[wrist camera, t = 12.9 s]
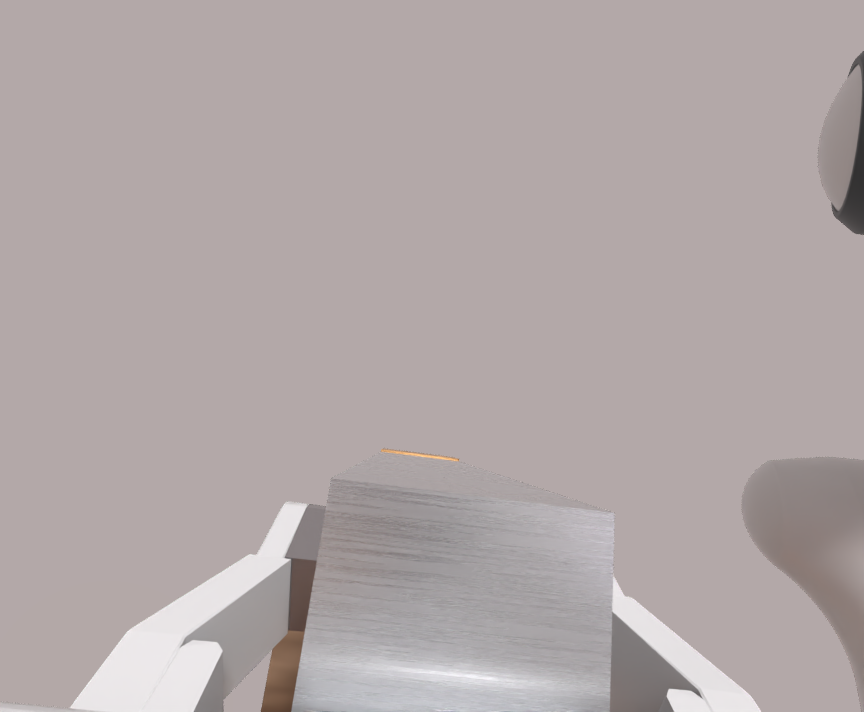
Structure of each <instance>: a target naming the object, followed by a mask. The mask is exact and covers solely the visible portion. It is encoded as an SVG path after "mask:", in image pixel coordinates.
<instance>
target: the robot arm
mask: <svg viewBox="0 0 864 712" xmlns="http://www.w3.org/2000/svg"><path fill="white" fill-rule="evenodd" d="M818 166H819V167H818V168H819V174H820V178H821V182H822V186H823V188H824V190H825V192H826V194H827V197H828V198H829V200H830V201H831V204H832V211H833V214H834V216H835V217H836V218H837V219H838V220H839V221H840V222H841V223H843V224H844V225H845V226H846V227H847V228H849V229H850V230H851V231H852V232H854V233H856V234H861V235H864V51H863V52H862V53H861V54H860V55H859V56H858V57H857V58H856V59H855V61H854V62H853V64H852V67H851V69H850V72H849V75H848V78H847V80H846V81H845V83H844V84H843V85H842V87H841V89H840V91H839V93H838V94H837V96H836V97H835V99H834V101H833V103H832V105H831V107H830V109H829V112H828V114H827V116H826V118H825V121H824V125H823V128H822V132H821V135H820V140H819V147H818ZM325 511H326V506H320V505H313V504H309V505H308V504H303V503H296V502H289V501H287V502H286V503H285V504H284V505H283V506H282V508H281V510H280V511H279V513H278V515H277V517H276V519H275V521H274V523H273V525H272V527H271V528H270V530H269V532H268V534H267V536H266V538H265V540H264V541H263V543H262V545H261V547H260V549H259V551H258V553H257V555H250V554H249V555H247V556H246V557H244V558H243V559H241V560H239V561H238V562H236V563H235V564H233V565H232V566H230V567H228V568H227V569H225V570H224V571H222V572H220V573H219V574H217V575H216V576H214V577H212V578H211V579H209V580H208V581H206V582H204V583H203V584H201V585H200V586H198V587H196V588H195V589H193V590H192V591H190V592H189V593H187V594H185V595H184V596H182V597H181V598H179V599H177V600H176V601H174V602H173V603H171V604H170V605H168V606H166V607H165V608H163V609H161V610H160V611H158V612H157V613H155V614H154V615H152V616H151V617H149V618H147V619H146V620H144V621H142V622H141V623H139V624H138V625H136V626H134V627H133V628H131V629H130V630H128V631H127V633H126V634H125V635H124V637H123V638H122V639H121V640H120V642H119V643H118V644H117V646H116V647H115V648H114V650H113V651H112V653H111V654H110V655H109V656H108V658H107V659H106V661H105V662H104V663H103V665H102V666H101V667H100V668H99V670H98V671H97V672H96V674H95V675H94V676H93V678H92V679H91V680H90V682H89V683H88V684H87V686H86V687H85V688H84V690H83V691H82V692H81V694H80V695H79V696H78V698H77V699H76V700H75V702H74V703H73V704H72V706H71V707H70V708H61V707H52V706H41V705H30V704H19V703H9V702H0V712H223V711H224V710H223V700H224V699H225V698H226V696H228V695H229V694H230V692H232V690H233V689H234V688H235V687H236V686H237V685H238V684H239V683H240V682H241V681H242V680H243V679H244V678H245V677H246V676H247V675H248V674H249V673H250V672H251V671H252V670H253V669H254V668H255V667H256V666H257V664H258V663H259V662H260V661H261V660H262V659H263V658H264V657H265V656H266V655H267V654H268V653H269V652H270V651H271V650H272V649H273V648H274V647H275V646H276V645H277V644H278V643H279V642H280V641H281V640H282V639H283V638H284V637H285V636H286V635H287V633H288V631H302V632H305V628H306V622H307V616H308V610H309V604H310V598H311V593H312V587H313V581H314V575H315V569H316V563H317V557H318V552H319V546H320V540H321V534H322V528H323V522H324V516H325ZM742 513H743V519H744V522H745V526H746V528H747V530H748V533H749V535H750V536H751V538H752V540H753V542H754V543H755V545H756V546H757V547H758V549H759V550H760V551H761V552H762V553H763V555H764V556H765V557H766V558H767V559H768V560H769V561H770V562H771V563H772V564H773V565H775V566H776V567H777V568H778V569H780V570H781V571H782V572H784V573H785V574H786V575H787V576H788V577H789V578H791V579H792V580H793V581H794V582H795V583H796V584H797V585H798V586H799V587H800V588H801V589H802V590H804V592H805V593H806V594H807V595H808V596H809V597H810V598H811V599H812V601H813V602H814V603H815V604H816V605H817V606H818V607H819V609H820V610H821V611H822V613H823V614H824V615H825V617H826V618H827V620H828V621H829V623H830V624H831V626H832V627H833V629H834V630H835V632H836V634H837V635H838V637H839V639H840V641H841V643H842V645H843V647H844V649H845V652H846V654H847V656H848V659H849V661H850V664H851V667H852V670H853V673H854V677H855V681H856V686H857V691H858V696H859V701H860V706H861V712H864V460H858V459H846V458H836V457H816V458H795V459H783V460H771V461H767V462H766V463H764V464H763V465H761V466H760V467H759V468H758V469H757V470H756V471H755V472H754V473H753V474H752V475H751V477H750V478H749V480H748V482H747V483H746V486H745V488H744V492H743V495H742ZM610 712H761V711H760V709H759V707H758V706H757V704H756V703H755V702H754V700H753V699H752V697H751V696H750V695H749V694H748V693H747V692H745V691H744V690H743V689H742V688H741V687H740V686H738V685H737V684H736V683H735V682H733V681H732V680H731V679H730V678H729V677H727V676H726V675H725V674H724V673H723V672H721V671H720V670H719V669H718V668H716V667H715V666H714V665H713V664H712V663H710V662H709V661H708V660H707V659H706V658H704V657H703V656H702V655H701V654H700V653H698V652H697V651H696V650H695V649H694V648H692V647H691V646H690V645H689V644H687V643H686V642H685V641H684V640H683V639H681V638H680V637H679V636H678V635H677V634H675V633H674V632H672V630H670V629H669V628H668V627H667V626H666V625H664V624H663V623H662V622H661V621H659V620H658V619H657V618H656V617H655V616H653V615H652V614H651V613H650V612H649V611H647V610H646V609H645V608H643V606H641V605H640V604H639V603H638V602H636V601H635V600H634V599H633V598H632V597H625V596H624V594H623V592H622V591H621V589H620V587H619V585H618V583H617V581H616V579H615V578H614V576H613V603H612V641H611V679H610Z"/></svg>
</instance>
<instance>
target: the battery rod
mask: <svg viewBox="0 0 864 712" xmlns="http://www.w3.org/2000/svg"><path fill="white" fill-rule="evenodd" d="M614 523H615V513H613V512H611V511H607V510H604V509H601V508H598V507H595V506H592V505H589V504H586V503H583V502H580V501H577V500H574V499H571V498H568V497H565V496H562V495H559V494H556V493H553V492H550V491H547V490H544V489H541V488H538V487H535V486H532V485H529V484H526V483H523V482H520V481H517V480H514V479H511V478H508V477H504V476H501V475H498V474H496V473H493V472H490V471H487V470H484V469H480V468H477V467H475V466H472V465H468V464H466V463H462V462H459V459H457V458H453V457H447V456H439V455H431V454H424V453H416V452H408V451H400V450H392V449H382V450H381V452H380V453H378V454H376V455H374V456H372V457H370V458H369V459H367V460H365V461H363V462H361V463H359V464H357V465H355V466H353V467H352V468H350V469H348V470H346V471H344V472H342V473H340V474H338V475H336V476H334V477H333V478H331V481H330V487H329V493H328V499H327V505H326V511H325V516H324V522H323V528H322V534H321V540H320V546H319V552H318V557H317V563H316V569H315V575H314V581H313V587H312V593H311V598H310V604H309V610H308V616H307V622H306V628H305V634H304V639H303V645H302V651H301V657H300V663H299V669H298V675H297V680H296V686H295V692H294V698H293V704H292V710H291V712H610V679H611V641H612V603H613V565H614V564H613V563H614V526H615V525H614Z"/></svg>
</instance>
